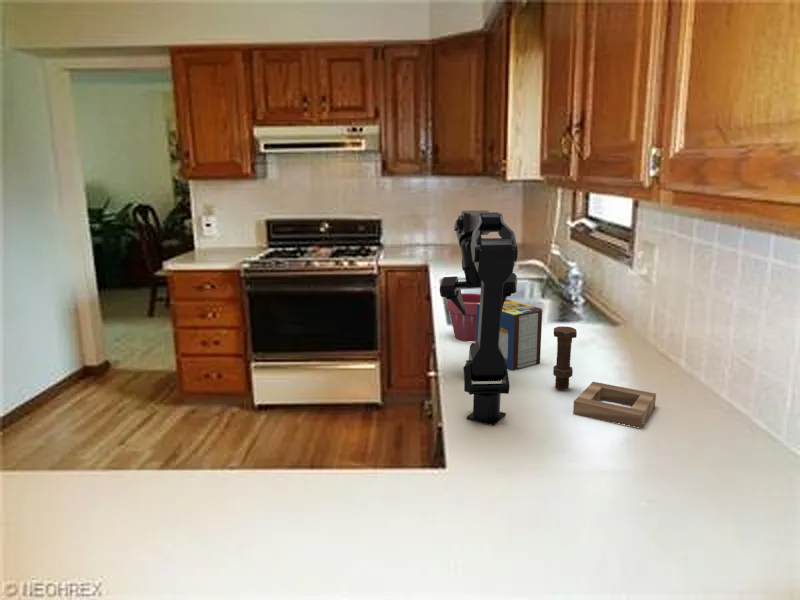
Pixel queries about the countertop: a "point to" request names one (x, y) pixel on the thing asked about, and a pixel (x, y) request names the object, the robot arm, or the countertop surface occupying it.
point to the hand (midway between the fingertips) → (482, 313)
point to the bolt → (563, 356)
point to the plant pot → (464, 317)
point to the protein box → (519, 334)
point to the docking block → (633, 416)
